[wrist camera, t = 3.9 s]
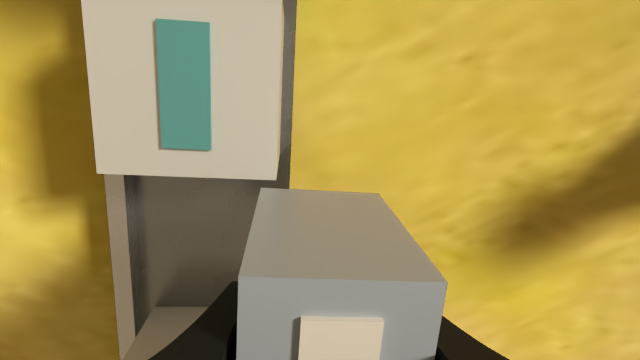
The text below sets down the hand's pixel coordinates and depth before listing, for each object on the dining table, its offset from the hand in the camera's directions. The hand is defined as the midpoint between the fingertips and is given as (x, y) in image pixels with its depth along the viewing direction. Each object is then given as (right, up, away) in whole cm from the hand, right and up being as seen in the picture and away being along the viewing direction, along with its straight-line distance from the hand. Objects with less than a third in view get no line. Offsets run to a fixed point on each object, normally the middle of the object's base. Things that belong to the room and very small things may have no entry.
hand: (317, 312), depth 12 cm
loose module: (0, +1, +2) cm, 2 cm away
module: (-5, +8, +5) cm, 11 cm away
